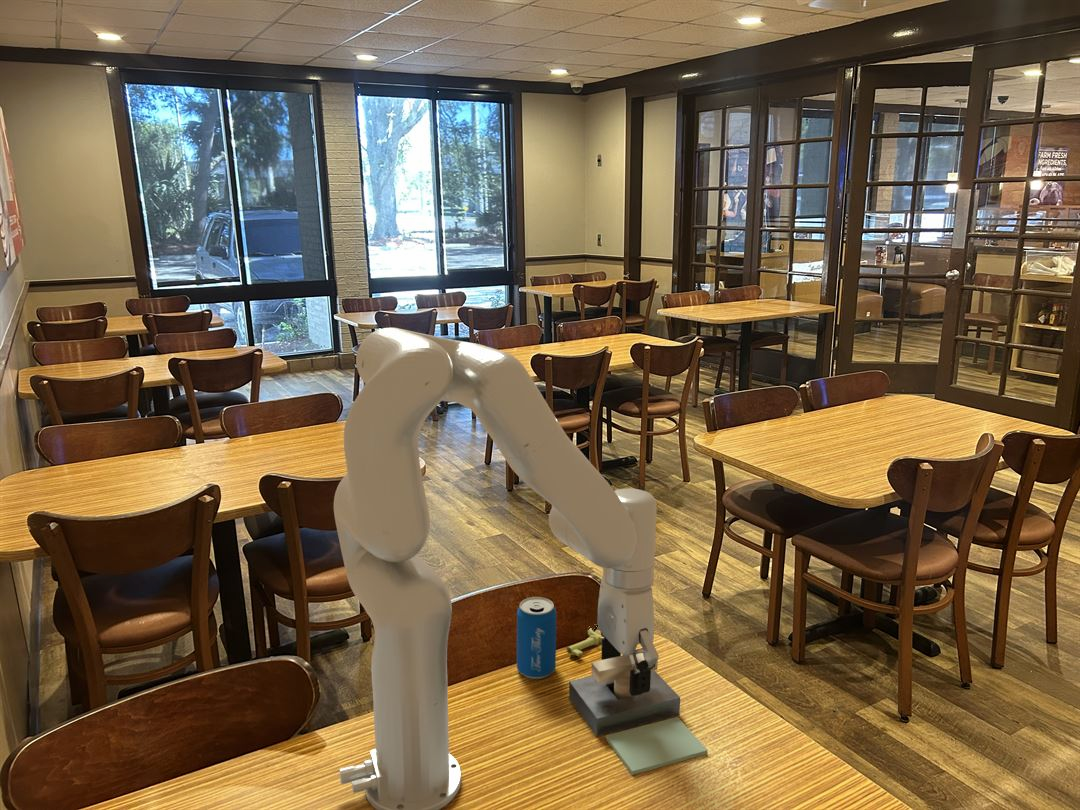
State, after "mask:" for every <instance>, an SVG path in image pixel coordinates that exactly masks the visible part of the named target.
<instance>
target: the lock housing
mask: <svg viewBox="0 0 1080 810" xmlns="http://www.w3.org/2000/svg"><path fill="white" fill-rule="evenodd" d="M568 699H569V700H570V701H571V703H572V704H573V706H574V707H575V709H576V710H577V712H579V715H580V716H581V717H582V718H583V720H584V721H585V722H586V724H587V726H588V727H589V728H590V730H591V731H592V732H593V734H594V735H595V736H596V737H601V736H606V735H610V734H613V733H617V732H621V731H625V730H629V729H633V728H636V727H640V726H644V725H645V724H646V725H648V724H649V723H650V724H652V723H656V722H659V721H663V720H667V719H671V718H675V717H678V716H680V713H681V712H680V708H681V697H680V696H679V695H678V693H677V692H675V690H674V689H673V688H672V687H671V686H670V685H669V684H668V683H667V682H666V681H665V680H664V679H663V678H662V677H661V675H660V674H658V673H657V671H656V670H654V671H651V681H650V691H649V692H646V693H642V694H638V695H634V696H632V697H628V698H624V699H620V700H618V699H617V698H616V697H615V696H614V680H612V681H607V682H603V683H598V682H597V680H596V679H595V678H594V677H593V676H592V675H590V676H587V677H581V678H576V679H573V680H568Z"/></svg>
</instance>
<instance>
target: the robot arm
mask: <svg viewBox="0 0 1080 810" xmlns="http://www.w3.org/2000/svg"><path fill="white" fill-rule="evenodd" d="M355 361H356V364H355V365H356V369H357V372H358V375H359V377H360V378H361V380H362V382H363V383H364V386H363V387H362V389H361V390H360V392H359V394H358V395H357V396H356V398H355V400H354V402H353V403H352V405H351V407H350V409H349V412H348V414H347V416H346V419H345V423H344V428H343V450H344V456H345V457H344V458H345V463H346V464H345V465H346V474H345V475H344V476H343V478H342V479H341V480H340V481H339V483H338V485H337V488H336V490H335V493H334V498H333V513H334V514H333V515H334V521H335V526H336V531H337V536H338V540H339V546H340V551H341V556H342V560H343V564H344V569H345V574H346V577H347V581H348V584H349V587H350V589H351V591H352V592H353V595H354V596H355V598H356V599H357V600H358V602H359V603H360V605H361V606H362V607H363V609H364V611H365V613H366V614H367V615H368V616H369V618H370V619H371V622H372V625H373V630H374V641H373V646H372V652H371V666H370V667H371V687H372V702H373V706H372V707H373V722H374V723H373V724H374V741H375V742H374V743H375V744H374V746H375V747H374V748H375V749H372V750H370V758H369V759H365V760H363V763H361V764H357V765H351V766H350V765H349V766H345V767H342V768H339V769H338V770H339V771H338V772H339V779H340V785H341V786H342V785H346V784H349V783H351V788H352V793H353V794H357V793H360V792H363V791H365V796H366V798H367V801H368V803H370V805H371V806H372V807H373V808H374V809H375V810H441V809H442V808H444V807H446V806H447V805H448V804H450V803H451V801H453V799H455V797H456V795H458V792H459V791H460V788H461V783H462V770H461V766H460V764H459V762H458V760H457V759H456V758H455V757H454V756H453V755H451V753H450V743H449V742H450V737H449V736H450V735H449V729H450V728H449V699H448V697H449V695H448V694H449V693H448V688H449V687H448V686H449V685H448V662H447V661H448V640H449V631H450V626H451V621H452V614H453V610H452V609H453V606H452V598H451V595H450V592H449V589H448V588H447V586H446V584H445V582H444V581H443V579H442V577H440V575H439V573H437V571H436V570H434V569H433V568H432V567H431V565H429V564H428V563H427V562H426V561H425V559H423V558H422V557H421V556H420V555H419V553H420V552H421V551H422V550H423V548H424V547H425V545H426V543H427V541H428V538H429V534H430V528H431V527H430V526H431V525H430V521H431V519H430V512H429V509H428V507H429V506H428V502H427V497H426V496H427V495H426V491H425V485H424V480H423V475H422V473H423V472H422V468H421V463H420V462H421V461H420V451H419V436H420V433H421V430H422V427H423V425H424V423H425V422H426V419H427V418H428V416H429V415H430V414H431V412H432V411H434V409H435V408H437V406H438V405H439V404H441V402H448V403H454V404H455V403H456V404H459V405H461V406H463V407H465V408H467V409H469V410H471V411H472V413H474V415H475V416H476V418H477V419H478V420H479V422H480V423H481V425H482V427H483V428H484V430H485V431H486V432H487V434H488V435H489V437H490V438H491V439H492V441H493V443H494V444H495V445H496V447H497V448H498V450H499V452H500V454H501V455H502V457H503V458H504V459H505V461H506V462H507V464H508V466H509V467H510V468H511V470H512V471H513V472H514V473H515V474H516V476H518V478H519V479H521V481H522V482H523V483H524V484H525V485H526V486H527V487H529V488H530V489H531V490H533V491H534V493H536V494H538V495H539V496H540V497H542V498H543V499H544V500H546V502H547V503H549V504H550V505H551V506H552V508H551V509H550V511H549V516H548V525H549V529H550V531H551V533H552V535H553V536H554V537H555V538H556V539H557V540H559V542H561V543H562V544H563V545H566V546H567V547H569V548H570V549H572V550H573V551H574V552H576V553H578V554H579V555H581V556H583V558H585V559H587V560H588V561H590V562H591V563H593V564H594V565H596V566H597V567H600V568H602V576H601V581H600V587H599V592H598V594H599V595H598V604H597V620H596V621H597V624H596V625H598V628H599V630H598V631H600V636H602V637H604V638H602V644H601V653H600V654H601V656H600V657H601V660H605V659H609V658H614V657H618V656H623V655H624V656H630V659H631V663H632V667H633V670H630V691H629V692H630V694H631V695H632V696H634V695H638V694H642V693H646V692H649V691H650V681H651V670H653V668H654V667H655V664H656V662H657V660H659V657H660V656H659V653H658V651H657V649H656V647H655V645H654V637H655V609H654V599H653V598H654V595H653V588H652V587H653V585H654V581H655V580H654V578H655V554H656V552H655V551H656V535H657V534H656V533H657V531H656V530H657V500H656V498H655V497H654V496H653V495H652V494H651V493H650V492H649V491H646V490H642V489H638V488H631V487H630V488H628V487H627V488H620V489H615V490H614V489H613V487H612V486H611V485H610V483H609V482H608V481H607V480H606V479H605V477H604V475H602V474H601V473H600V472H599V471H598V469H596V467H595V466H594V465H593V464H592V463H591V462H590V460H589V459H588V458H587V457H586V455H584V453H583V452H582V451H581V449H579V447H577V445H576V444H575V442H573V441H572V440H571V439H570V438H569V436H568V435H567V433H566V432H565V430H564V429H563V427H562V426H561V424H560V423H559V420H558V419H557V418H556V416H555V414H554V413H553V411H552V409H551V408H550V407H549V404H548V403H547V401H546V399H545V398H544V396H543V394H542V393H541V392H540V390H539V388H538V386H537V385H536V383H535V382H534V380H533V378H532V377H531V375H530V374H529V372H528V371H527V369H526V367H525V366H524V365H523V364H522V362H521V361H520V360H519V359H518V358H517V357H515V356H514V355H512V354H511V353H508V352H506V351H502V350H500V349H497V348H493V347H490V346H487V345H483V344H480V343H473V342H469V341H464V340H456V339H451V338H446V337H440V336H436V335H431V334H426V333H421V332H418V331H417V332H416V331H412V330H408V329H403V328H398V327H383V328H380V329H377V330H374V331H373V332H370V334H368V335H367V336H366V337H365V338H364V339H363V340H362V341H361V343H360V345H359V347H358V348H357V352H356V360H355ZM639 645H640V646H641V648H637V646H639ZM640 653H643V656H644V660H643V661H641V662H640V663H638V660H637V656H636V654H640Z"/></svg>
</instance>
